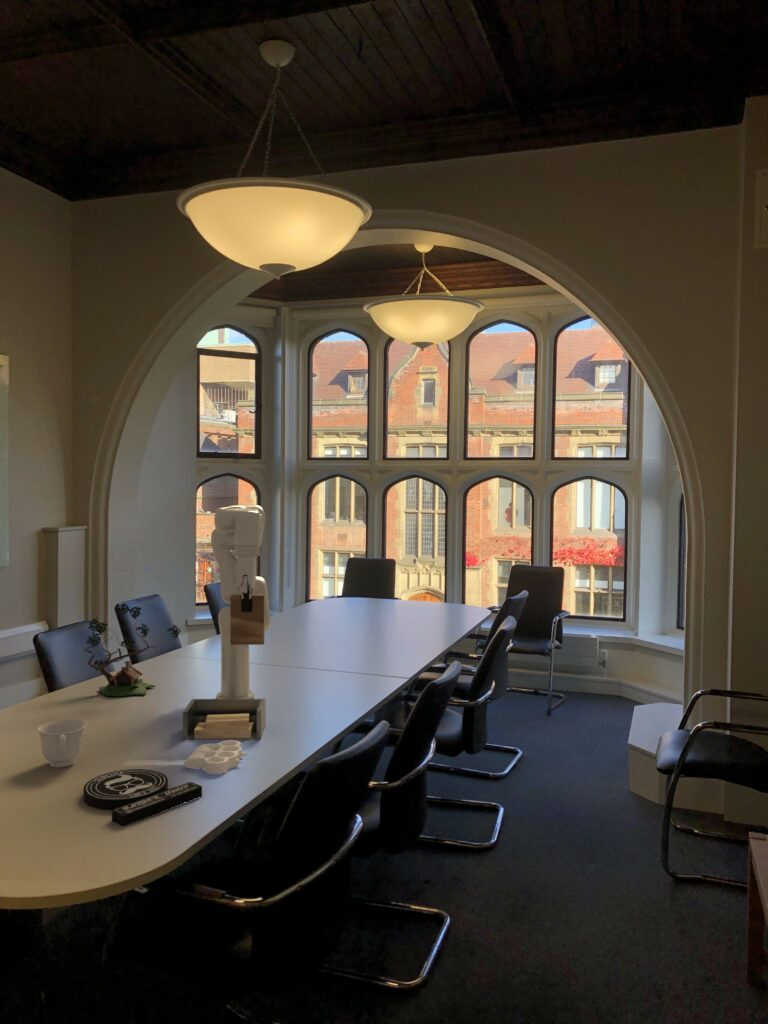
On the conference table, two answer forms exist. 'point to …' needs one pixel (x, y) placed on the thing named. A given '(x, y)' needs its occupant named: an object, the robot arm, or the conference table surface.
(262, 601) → the wooden plank
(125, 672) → the bonsai tree
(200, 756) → the white brass knuckles
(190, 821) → the conference table surface
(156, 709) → the conference table surface
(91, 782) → the decorative sign
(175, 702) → the conference table surface
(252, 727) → the offcut lower
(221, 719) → the offcut upper
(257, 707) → the rack
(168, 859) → the conference table surface
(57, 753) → the teacup
